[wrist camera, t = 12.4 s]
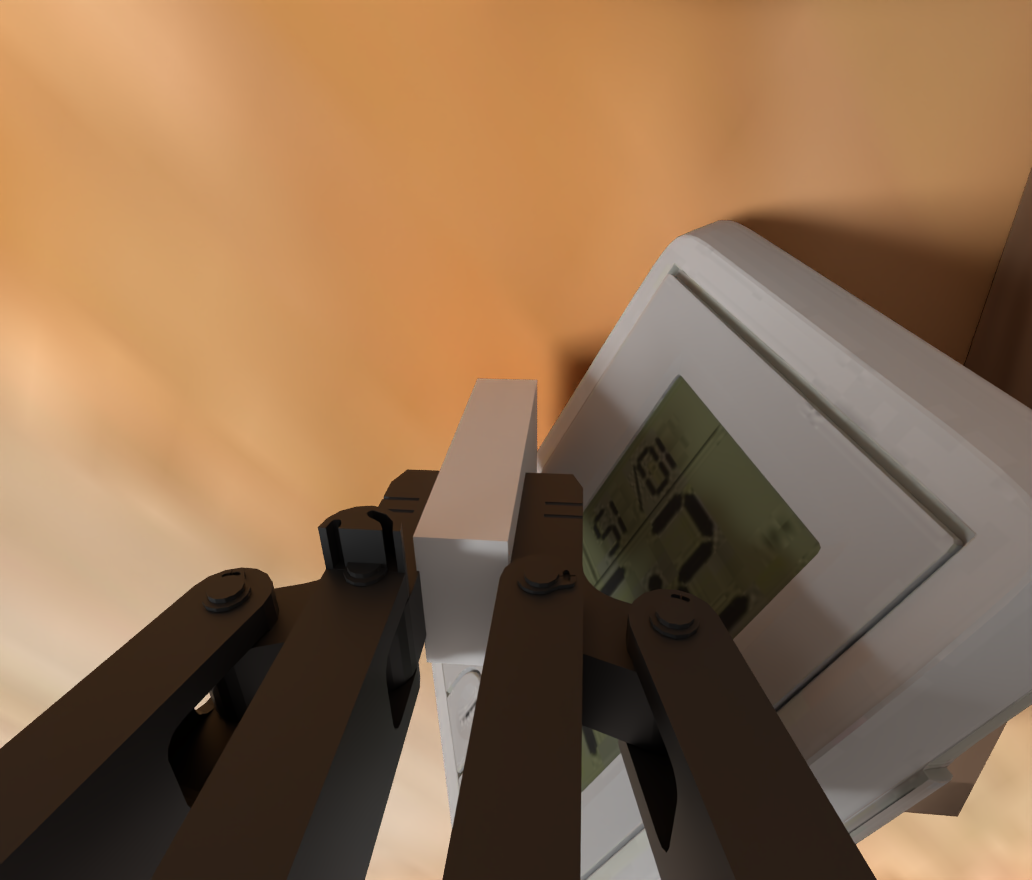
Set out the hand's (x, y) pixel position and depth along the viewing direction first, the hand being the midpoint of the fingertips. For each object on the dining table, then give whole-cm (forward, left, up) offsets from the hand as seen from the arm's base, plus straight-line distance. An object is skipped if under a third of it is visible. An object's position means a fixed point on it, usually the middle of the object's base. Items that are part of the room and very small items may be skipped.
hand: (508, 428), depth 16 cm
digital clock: (+3, -3, -2) cm, 5 cm away
